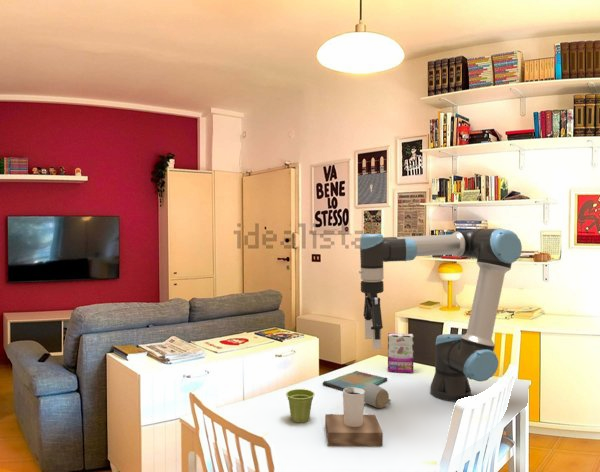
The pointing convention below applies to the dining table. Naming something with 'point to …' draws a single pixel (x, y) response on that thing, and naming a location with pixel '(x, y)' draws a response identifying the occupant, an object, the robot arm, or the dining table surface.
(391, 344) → the candy bar box
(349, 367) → the dining table surface
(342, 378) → the dish towel
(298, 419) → the plant pot
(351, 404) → the beige hollow cylinder
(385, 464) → the dining table surface
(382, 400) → the ceramic mug
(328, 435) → the walnut riser block
